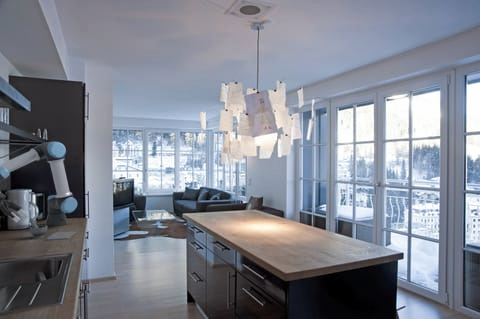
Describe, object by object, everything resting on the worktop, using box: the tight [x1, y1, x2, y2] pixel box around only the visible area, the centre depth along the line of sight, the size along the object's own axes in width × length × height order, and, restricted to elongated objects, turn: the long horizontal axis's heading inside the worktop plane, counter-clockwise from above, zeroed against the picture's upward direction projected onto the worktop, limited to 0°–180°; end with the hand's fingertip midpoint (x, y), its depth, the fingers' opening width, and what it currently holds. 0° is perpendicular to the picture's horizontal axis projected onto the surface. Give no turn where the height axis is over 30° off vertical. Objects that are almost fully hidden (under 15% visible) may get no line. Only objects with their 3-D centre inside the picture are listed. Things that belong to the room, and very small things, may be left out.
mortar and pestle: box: [28, 218, 48, 240], centre depth 216 cm, size 11×9×12 cm
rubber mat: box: [45, 231, 76, 241], centre depth 219 cm, size 20×13×1 cm, turn 15°
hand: (22, 219), depth 213 cm, fingers open, 13 cm apart
